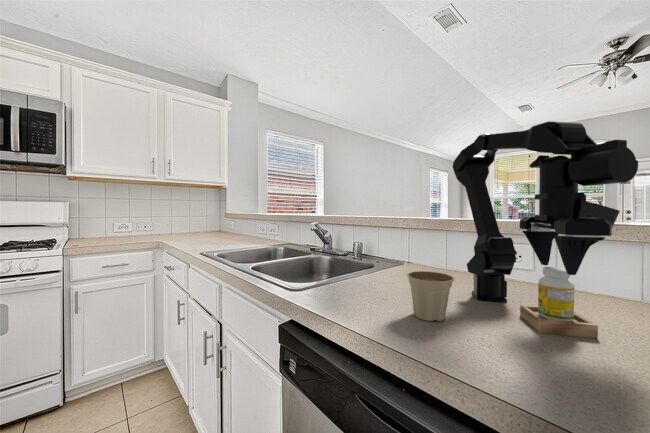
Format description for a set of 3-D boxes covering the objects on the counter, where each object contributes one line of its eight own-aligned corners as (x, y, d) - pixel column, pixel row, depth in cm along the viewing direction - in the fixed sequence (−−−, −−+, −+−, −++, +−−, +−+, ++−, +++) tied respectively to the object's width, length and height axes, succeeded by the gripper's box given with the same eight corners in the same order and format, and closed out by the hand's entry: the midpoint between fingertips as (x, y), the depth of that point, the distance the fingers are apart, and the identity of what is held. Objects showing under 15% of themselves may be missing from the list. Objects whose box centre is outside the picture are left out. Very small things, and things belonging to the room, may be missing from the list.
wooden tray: (540, 332, 50) (540, 320, 50) (520, 315, 59) (520, 304, 59) (597, 338, 48) (597, 325, 48) (568, 319, 56) (568, 308, 56)
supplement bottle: (574, 326, 50) (575, 273, 49) (537, 318, 53) (538, 269, 53) (573, 317, 54) (574, 268, 54) (538, 310, 57) (539, 264, 57)
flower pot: (451, 311, 61) (451, 272, 61) (456, 328, 52) (457, 283, 52) (407, 306, 64) (407, 269, 64) (405, 321, 55) (405, 279, 55)
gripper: (655, 182, 42) (653, 284, 42) (577, 191, 60) (576, 262, 60) (568, 184, 44) (566, 280, 45) (519, 192, 63) (518, 260, 63)
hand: (557, 269), depth 53 cm, fingers open, 9 cm apart
